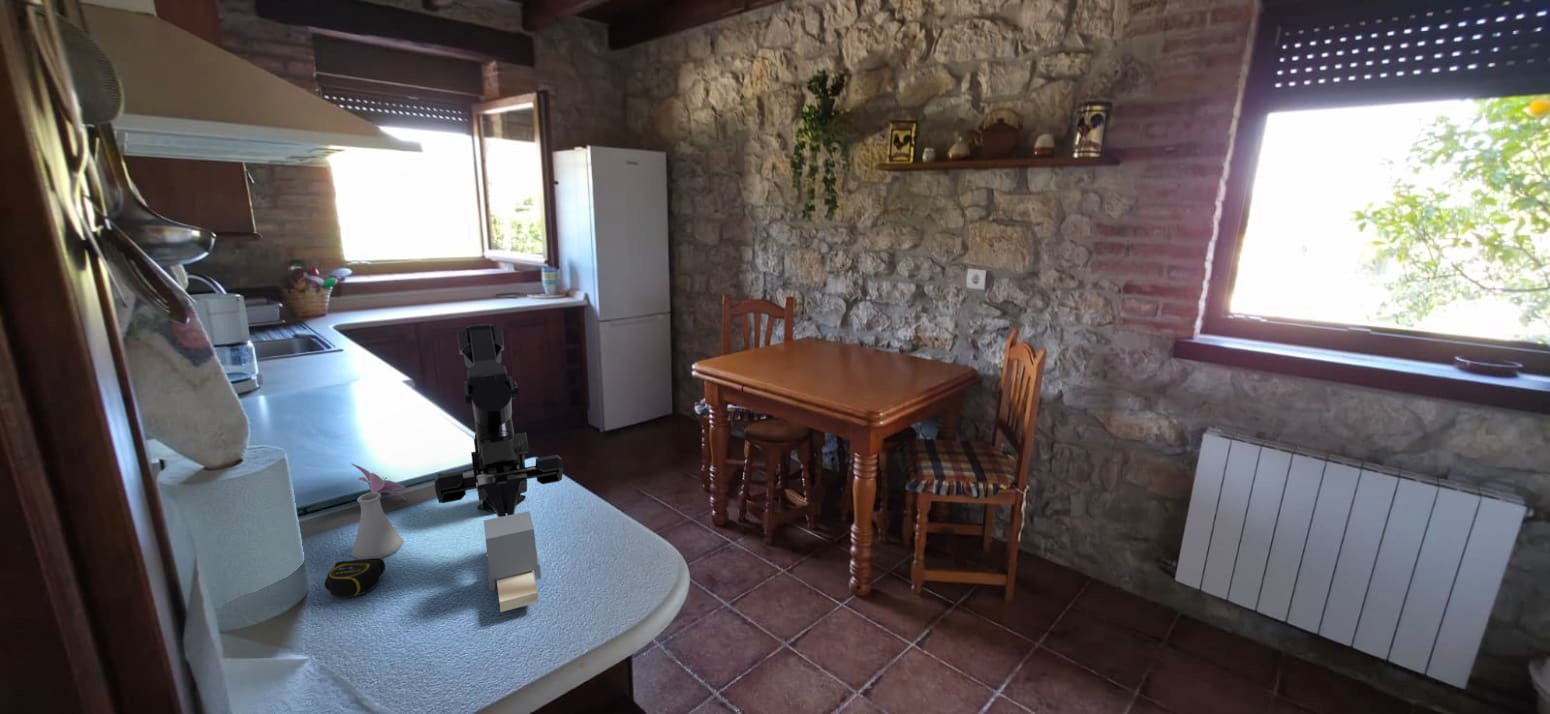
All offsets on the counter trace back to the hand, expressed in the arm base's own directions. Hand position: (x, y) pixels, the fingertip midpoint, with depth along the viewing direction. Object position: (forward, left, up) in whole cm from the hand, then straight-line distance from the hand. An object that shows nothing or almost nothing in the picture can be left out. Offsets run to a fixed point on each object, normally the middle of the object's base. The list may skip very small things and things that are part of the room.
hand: (508, 529), depth 99 cm
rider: (+3, +2, -6) cm, 7 cm away
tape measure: (+9, -21, -8) cm, 25 cm away
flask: (0, -26, -8) cm, 27 cm away
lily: (-14, -38, -8) cm, 41 cm away
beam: (+1, +1, -8) cm, 8 cm away
